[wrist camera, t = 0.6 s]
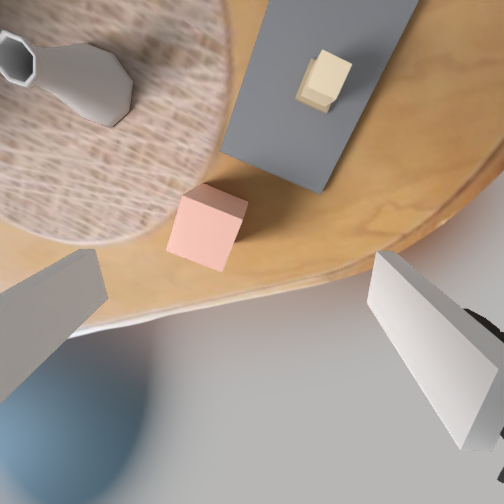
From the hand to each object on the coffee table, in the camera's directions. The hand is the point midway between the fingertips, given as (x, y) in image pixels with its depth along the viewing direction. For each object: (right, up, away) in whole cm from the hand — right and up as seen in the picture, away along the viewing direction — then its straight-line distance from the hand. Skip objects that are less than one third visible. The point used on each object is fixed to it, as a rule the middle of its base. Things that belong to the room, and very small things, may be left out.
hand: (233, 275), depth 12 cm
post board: (+6, +18, +14) cm, 23 cm away
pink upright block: (-3, +6, +19) cm, 20 cm away
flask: (-15, +18, +15) cm, 28 cm away
